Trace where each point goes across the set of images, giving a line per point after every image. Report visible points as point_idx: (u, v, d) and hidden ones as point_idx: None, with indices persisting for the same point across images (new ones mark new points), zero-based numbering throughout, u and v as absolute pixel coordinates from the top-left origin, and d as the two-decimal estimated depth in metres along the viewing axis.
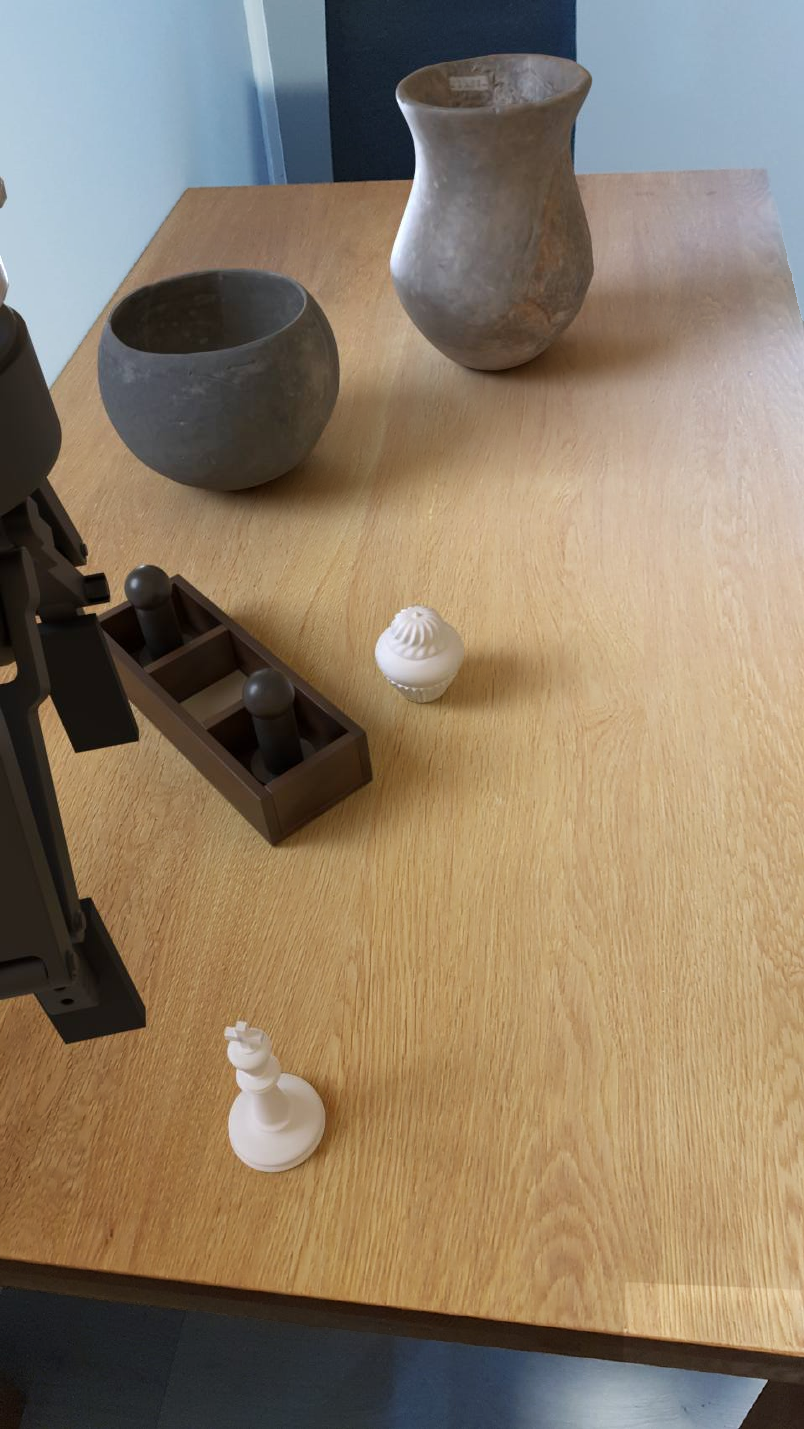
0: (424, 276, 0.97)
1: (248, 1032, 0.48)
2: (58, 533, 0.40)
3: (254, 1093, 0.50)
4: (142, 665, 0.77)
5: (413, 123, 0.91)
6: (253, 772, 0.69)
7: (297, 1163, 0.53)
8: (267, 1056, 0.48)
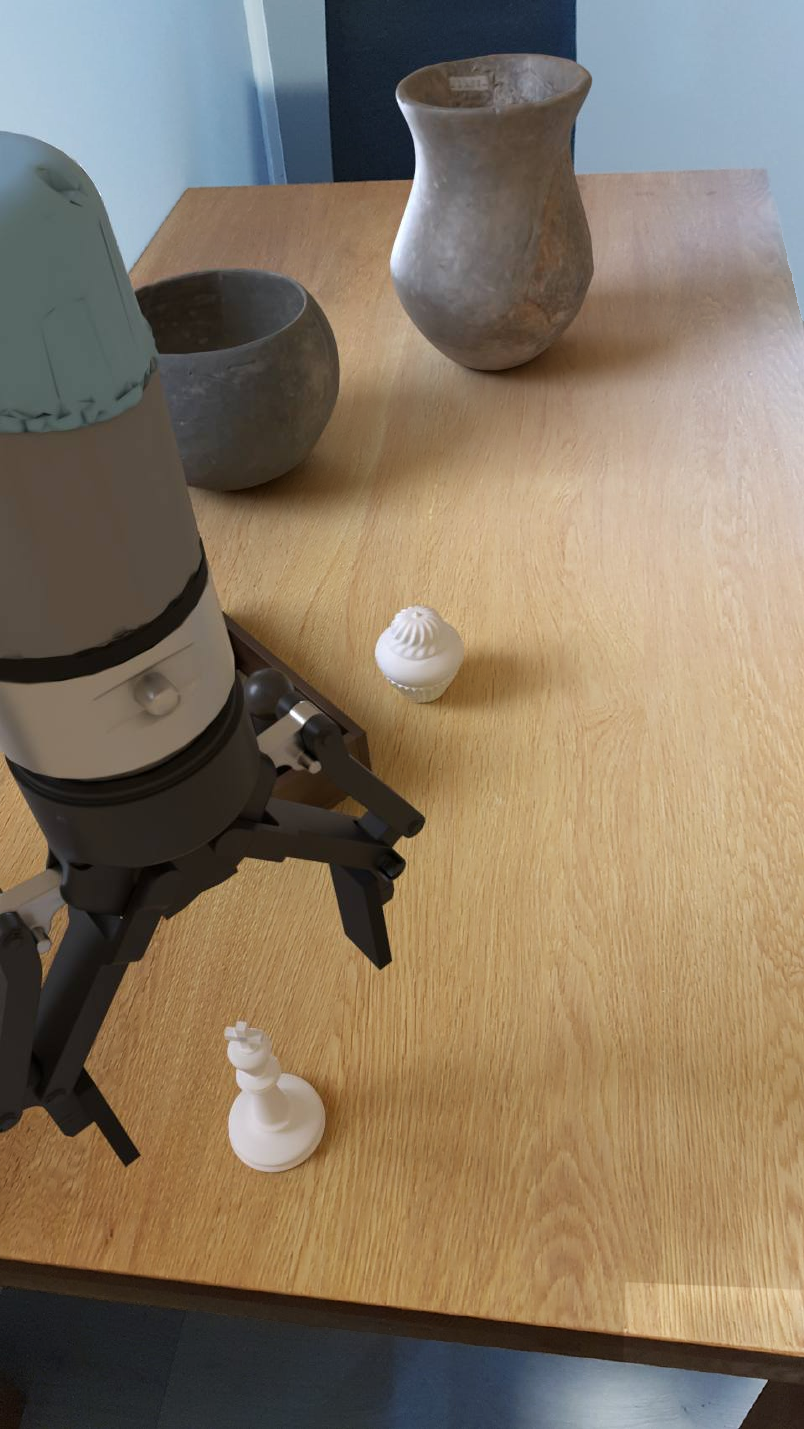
0: (424, 276, 0.97)
1: (248, 1032, 0.48)
2: None
3: (254, 1093, 0.50)
4: None
5: (413, 123, 0.91)
6: None
7: (297, 1163, 0.53)
8: (267, 1056, 0.48)
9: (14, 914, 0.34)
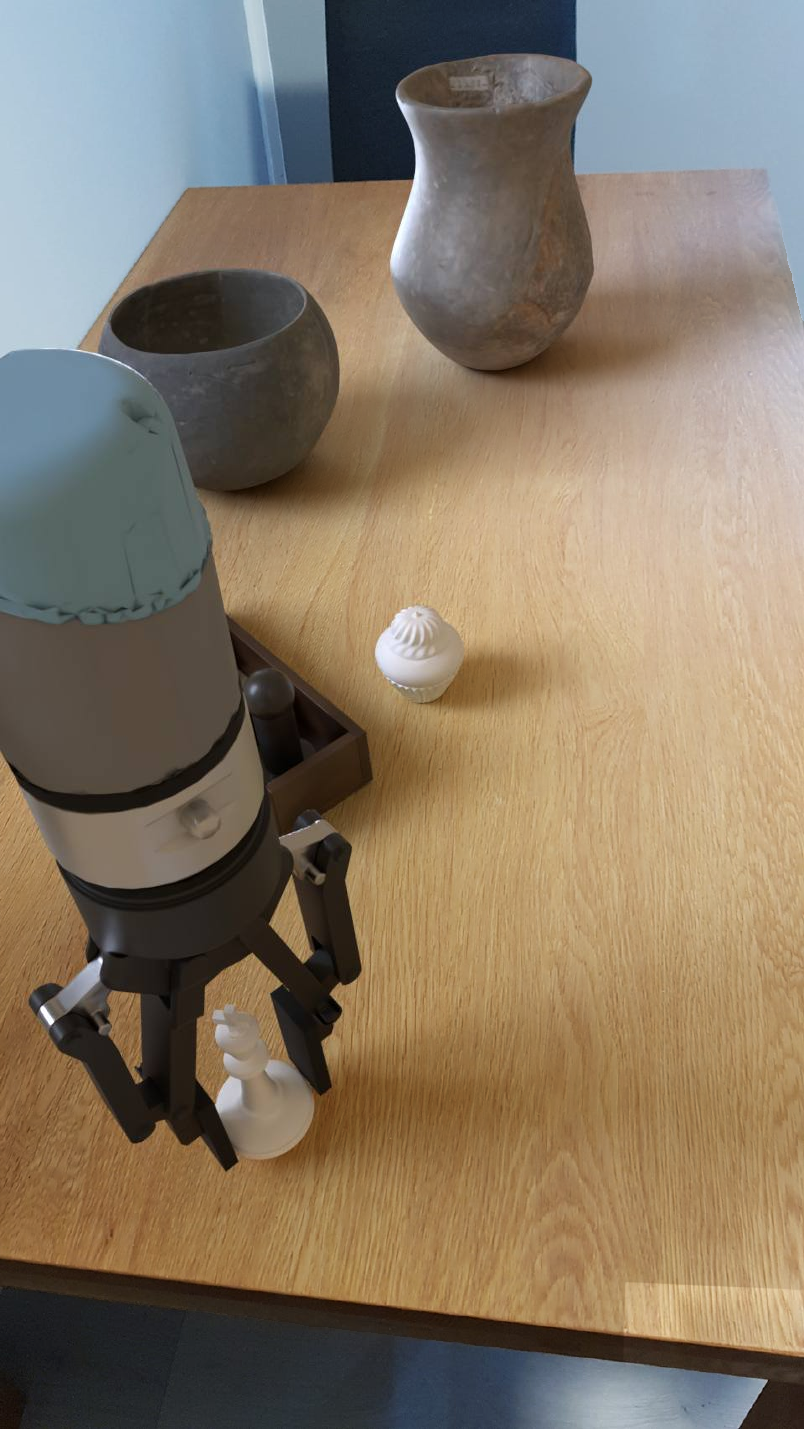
0: (424, 276, 0.97)
1: (236, 1015, 0.47)
2: (331, 949, 0.47)
3: (242, 1078, 0.49)
4: None
5: (413, 123, 0.91)
6: None
7: (285, 1150, 0.52)
8: (255, 1040, 0.48)
9: (69, 1014, 0.39)
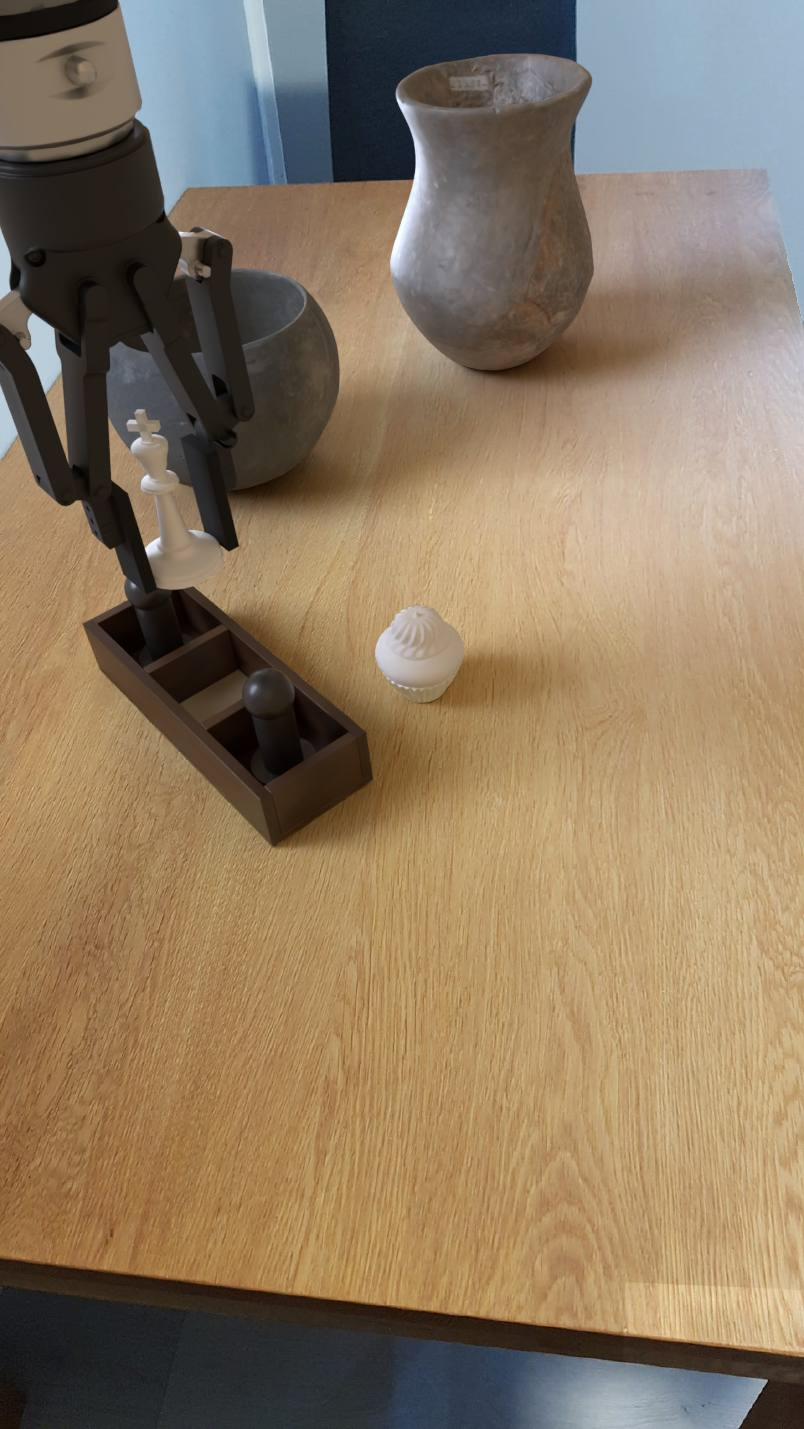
0: (424, 276, 0.97)
1: (146, 421, 0.57)
2: (225, 371, 0.57)
3: (155, 493, 0.59)
4: (142, 665, 0.77)
5: (413, 123, 0.91)
6: (253, 772, 0.69)
7: (197, 582, 0.62)
8: (164, 448, 0.57)
9: None
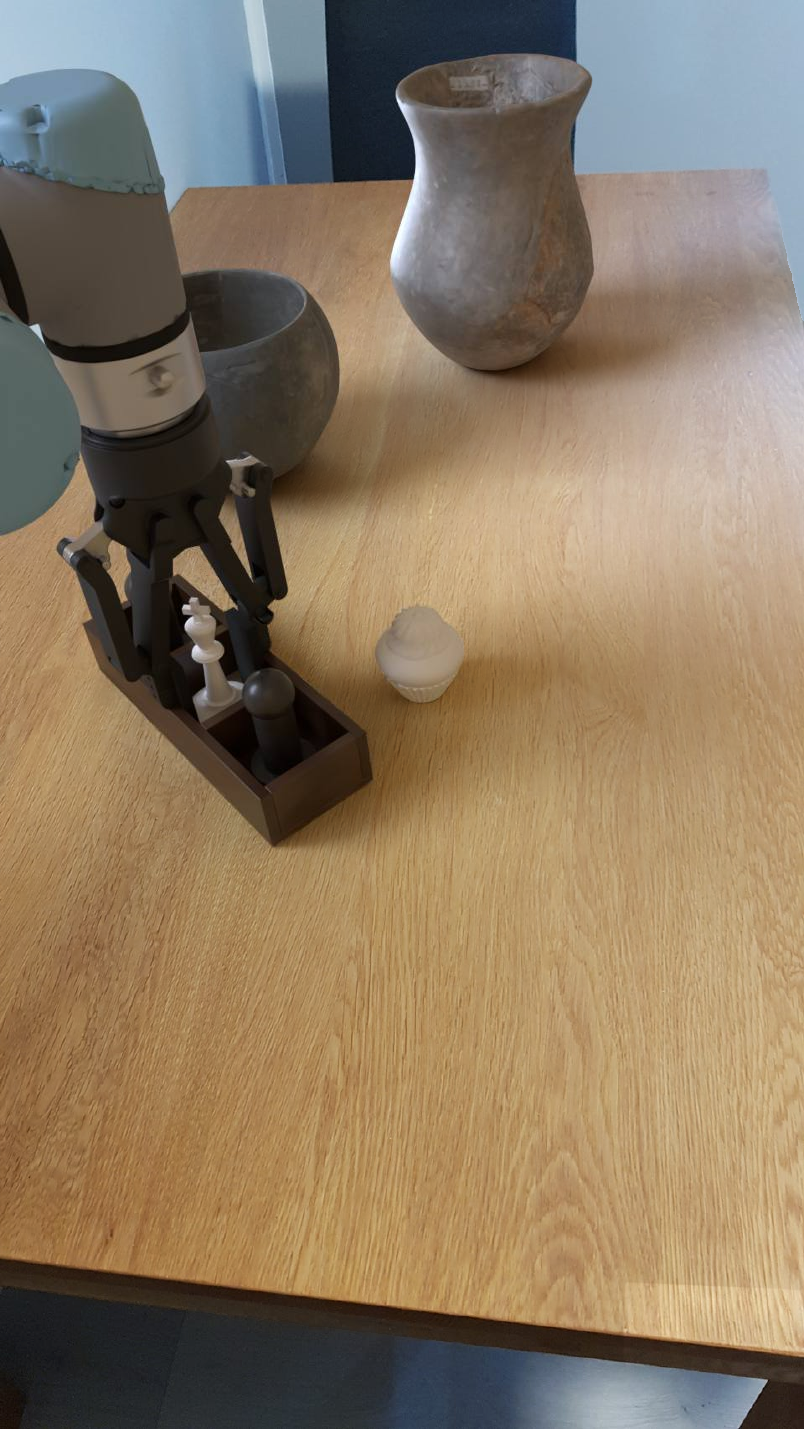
0: (424, 276, 0.97)
1: (199, 607, 0.68)
2: (264, 563, 0.68)
3: (204, 662, 0.70)
4: None
5: (413, 123, 0.91)
6: (253, 772, 0.69)
7: None
8: (212, 628, 0.68)
9: (83, 550, 0.60)
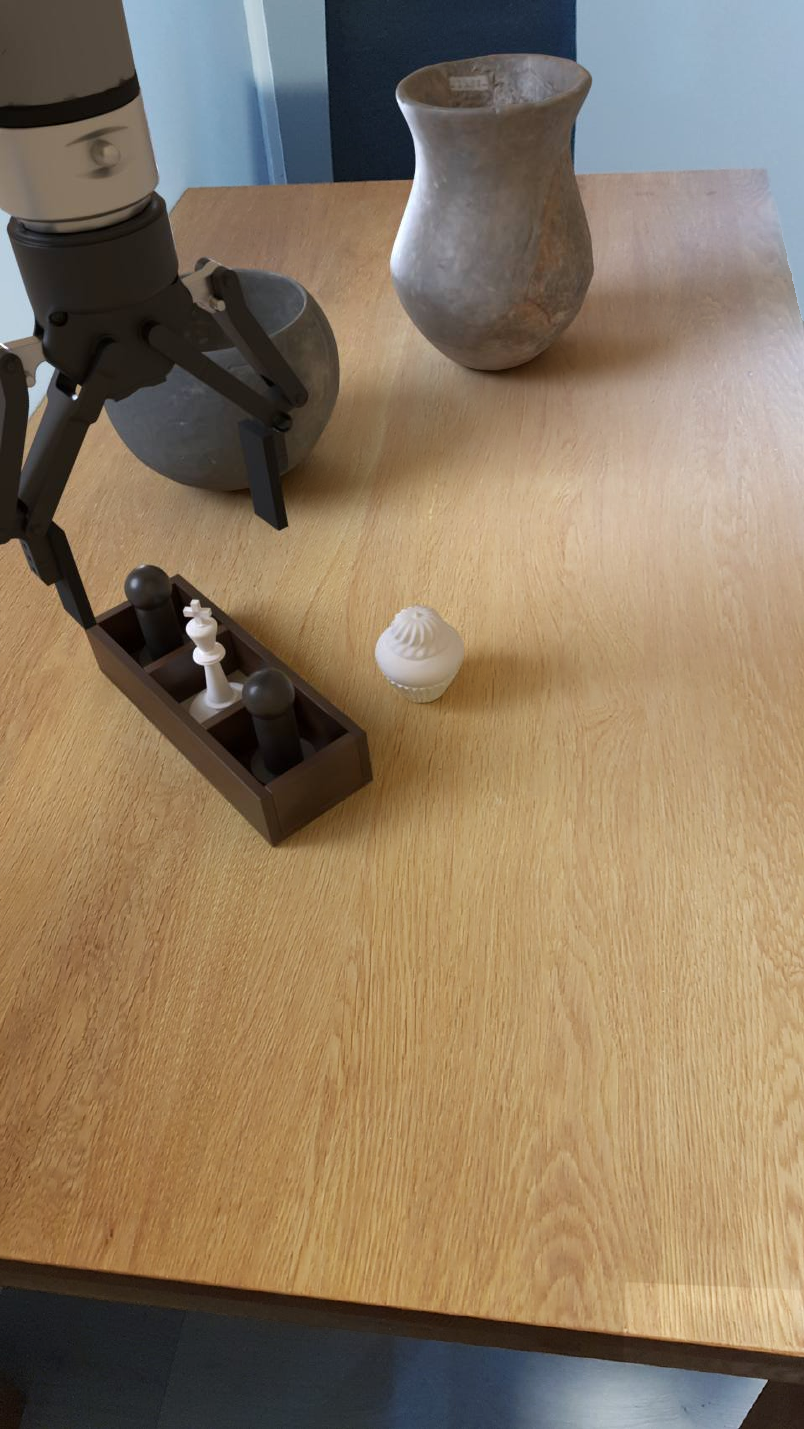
0: (424, 276, 0.97)
1: (200, 609, 0.68)
2: (269, 374, 0.61)
3: (205, 664, 0.70)
4: (142, 665, 0.77)
5: (413, 123, 0.91)
6: (253, 772, 0.69)
7: None
8: (214, 630, 0.69)
9: None
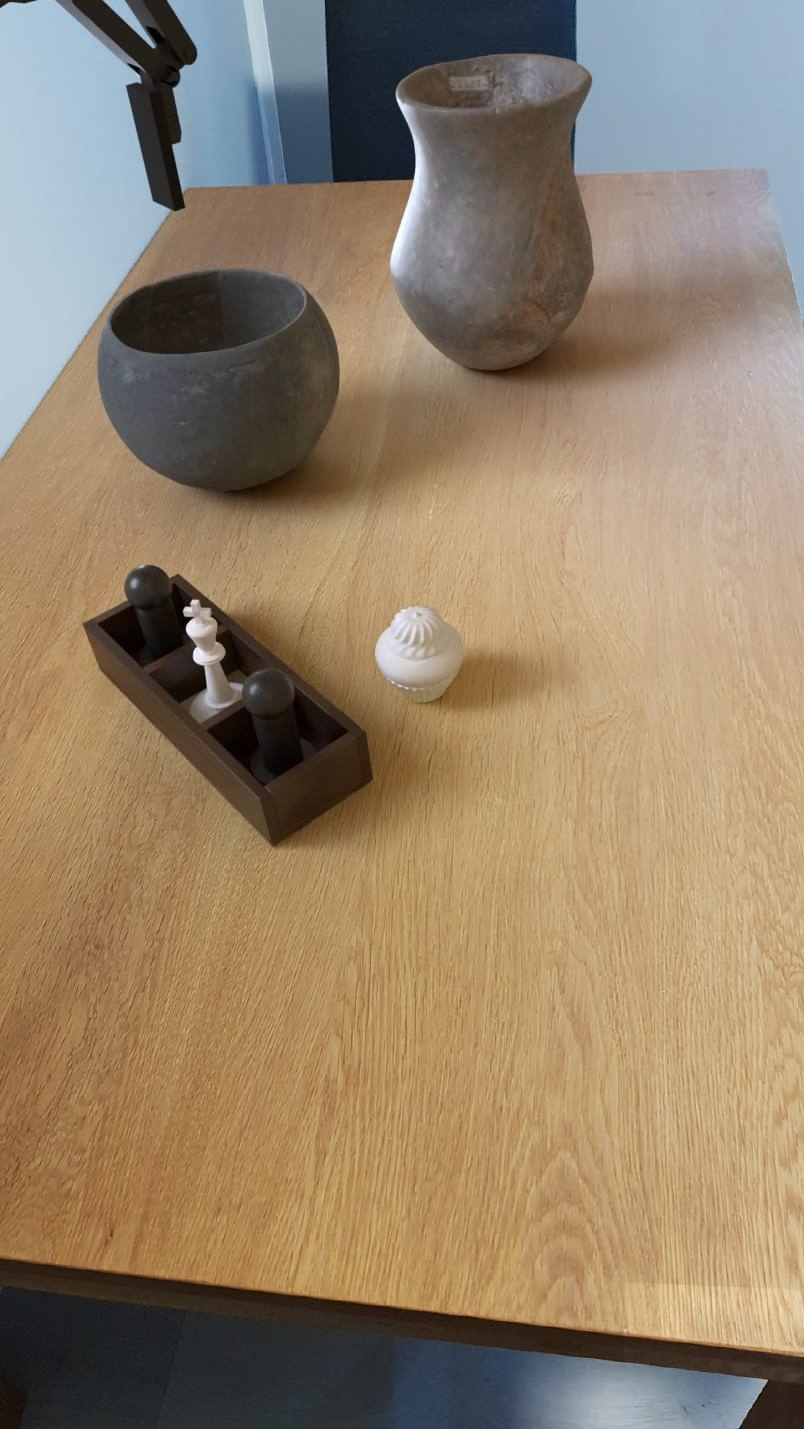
0: (424, 276, 0.97)
1: (200, 609, 0.68)
2: (152, 18, 0.60)
3: (205, 664, 0.70)
4: (142, 665, 0.77)
5: (413, 123, 0.91)
6: (253, 772, 0.69)
7: None
8: (214, 630, 0.69)
9: None
